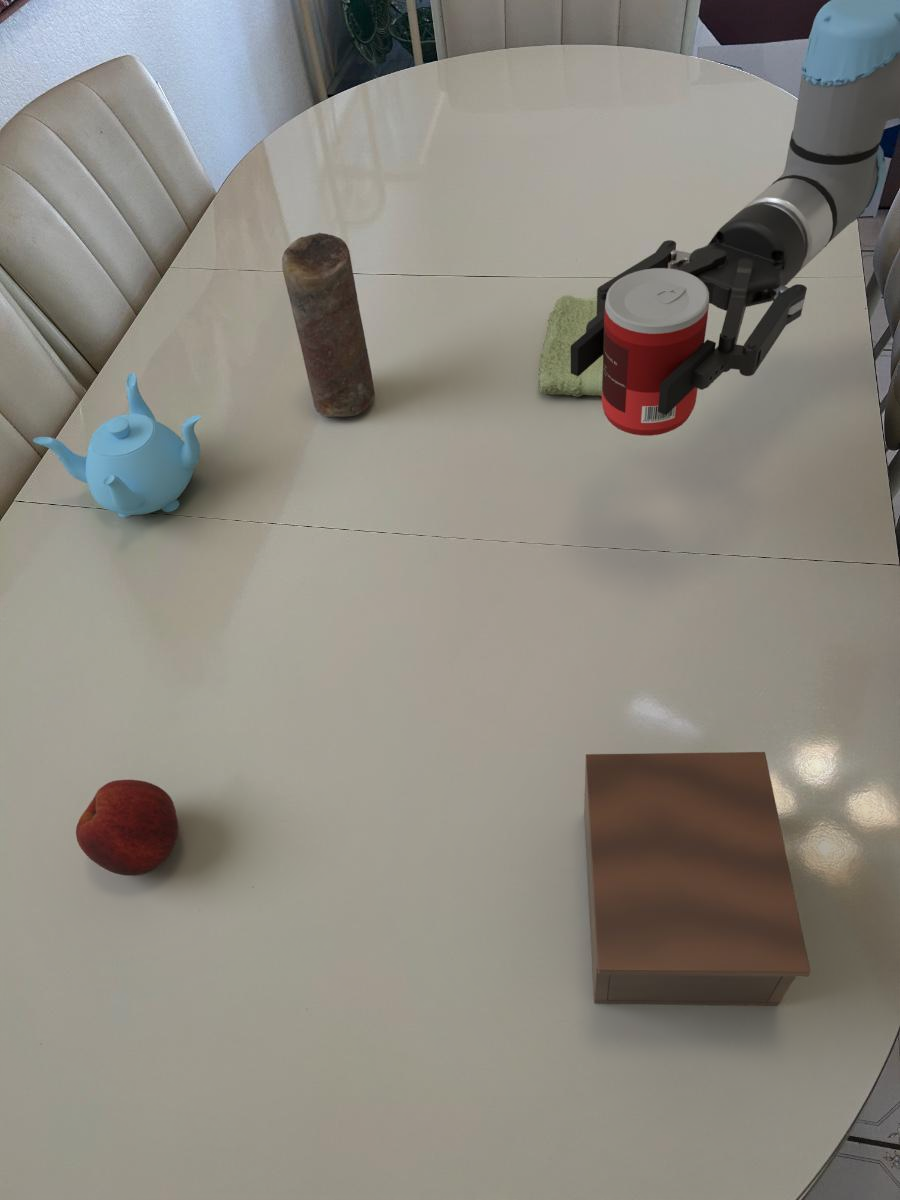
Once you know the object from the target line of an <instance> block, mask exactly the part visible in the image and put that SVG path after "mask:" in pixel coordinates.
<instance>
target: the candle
mask: <svg viewBox="0 0 900 1200" xmlns="http://www.w3.org/2000/svg"><path fill="white" fill-rule="evenodd" d="M281 267H282V268H281V269H282V274H283V277H284V282H285V286H286V289H287V291H286V292H287V294H288V298H289V302H290V307H291V312H292V316H293V320H294V323H295V324H294V325H295V329H296V332H297V333H296V334H297V336H298V340H299V345H300V348H301V353H302V357H303V362H304V367H305V371H306V377H307V381H308V384H309V388H310V393H311V397H312V398H311V399H312V402H313V406H314V408H315V411H316V412H317V413H318V414H320V415H321V416H323V417H327V418H333V417H354V416H358V415H359V414H361V413H362V412H364V411H365V410H367V409H368V407H369V405H370V404H371V403H372V402H373V400H374V398H375V395H376V391H375V386H374V380H373V379H374V378H373V374H372V368H371V362H370V357H369V353H368V347H367V342H366V341H367V340H366V336H365V331H364V330H365V329H364V325H363V320H362V315H361V311H360V310H361V309H360V304H359V299H358V292H357V288H356V280H355V276H354V270H353V265H352V259H351V253H350V249H349V247H348V245H347V243H346V241H344V240H343V239H342V238H341V237H338V236H336V235H332V234H328V233H324V232H318V233H317V232H316V233H314V234H308V235H306V236H301V237H298V238H297V239H295V240H294V241H292V242H290V244H289V245H288V247H286V249H285V250H284V251H283V254H282V257H281Z"/></svg>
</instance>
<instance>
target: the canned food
mask: <svg viewBox="0 0 900 1200" xmlns="http://www.w3.org/2000/svg"><path fill="white" fill-rule="evenodd" d="M709 309H710V303H709V292H708V289H707V287H706V285H705V284H704V283H703V282H702V281H701V280H700V279H699V278H697V277H695V276H694V275H692V274H689V273H687V272H684V271H680V270H675V269H667V268H653V269H646V270H641V271H637V272H634V273H631V274H628V275H626V276H624V277H622V278H620V279H619V280H618V281H616V282H615V283H614V284H613V285H612V286H611V287H610V289H609V290H608V293H607V296H606V302H605V316H604V343H603V377H602V396H601V405H602V409H603V413H604V415H605V417H606V419H607V420H608V422H609V423H610V424H611V425H612V426H613V427H615V428H616V429H617V430H620V431H621V432H624V433H626V434H630V435H635V436H643V437H644V436H646V437H647V436H650V437H652V436H659V435H663V434H666V433H670V432H673V431H675V430H676V429H678V428H680V427H682V426H683V425H684V424H685V423H686V422H687V421H688V419H689V417H690V416H691V415H692V412H694V411H693V410H694V409H695V406H696V402H697V397H698V388H696V387H695V388H694V389H693V390H692V391H691V392H690V393H689V394H688V395H687V396H686V397H685V398H683V399H682V400H681V401H680V402H679V403H678V404H677V405H676V406H675V407H674V408H673V409H672V410H671V411H670V412H669V413H668V414H667V415H664V414H662V413H660V412H658V405H659V394H660V384H661V383H662V382H663V381H664V380H665V379H666V378H667V377H668V376H669V375H670V374H671V373H672V372H674V371H675V370H676V369H677V368H678V367H679V366H680V365H681V364H682V363H683V362H684V361H685V360H686V359H687V358H688V357H689V356H690V355H692V354H693V353H694V352H695V351H696V350H697V349H698V348H699V347H700V346H701V345H702V344H703V343H704V342H705V341H706V340H705V338H706V332H707V325H708V319H709V318H708V315H709Z"/></svg>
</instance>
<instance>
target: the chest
mask: <svg viewBox="0 0 900 1200" xmlns="http://www.w3.org/2000/svg"><path fill="white" fill-rule="evenodd" d="M584 770H585V771H584V772H585V773H584V801H583V802H584V804H583V805H584V807H583V818H584V836H585V852H586V853H585V856H586V873H587V877H586V878H587V892H588V893H587V895H588V909H589V910H588V911H589V912H588V913H589V931H590V950H591V951H590V952H591V966H592V967H591V968H592V971H591V972H592V989H593V1003H594V1004H599V1005H600V1004H601V1005H602V1004H604V1005H605V1004H606V1005H609V1004H610V1005H614V1004H615V1005H677V1006H679V1005H681V1006H743V1007H744V1006H745V1007H747V1006H749V1007H750V1006H751V1007H753V1006H754V1007H778V1006H780V1004H781V1001H782V1000H783V998H784V996H785V995H786V993H787V992H788V990H789V989H790V987H791V985H792V984H793V982H794V981H795V979H796V976H704V975H612V974H598V962H597V944H596V927H595V910H594V893H593V876H592V859H591V842H590V825H589V808H588V791H587V774H586V765H585V768H584Z"/></svg>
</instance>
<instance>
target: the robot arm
mask: <svg viewBox="0 0 900 1200" xmlns="http://www.w3.org/2000/svg"><path fill="white" fill-rule="evenodd" d="M801 65H802V66H801V76H800V82H799V90H798V95H797V103H796V109H795V116H794V123H793V128H792V131H791V134H790V139H789V143H788V149H787V154H786V159H785V165H784V169H783V172H782V174H781V175H780V176H779V177H778V178H777V179H776V180H774V181H773V182H772V183H771V185H769V186H768V187H766V188H765V189H764V190H763V191H762V192H760V193H759V194H758V195H757V196H755V197H754V198H753V199H752V200H751V201H749V202H748V203H747V204H746V205H745V206H744V207H743V208H742V209H741V210H740V211H738V212H737V213H736V214H735V215H734V216H732V217H731V218H730V219H728V221H727V222H725V224H723V225H722V226H721V227H720V228H719V229H718V230H717V231H716V232H715V234H714V235H713V237H712V238H711V239H710V241H709V243H707V245H705V246H703V247H700V248H696V249H694V250H693V251H692V252H687V251H683V250H682V251H681V250H677V242H676V241H675V240H671V239H667V240H664V241H663V242H662V243H661V244H660V246H659V247H658V248H657V249H656V251H655V252H653V253H652V254H651V255H649V256H647V257H645V258H644V259H642V260H640V261H639V262H637V263H636V264H634V265H632V266H631V267H629V268H627V269H626V270H624V271H623V272H621V273H620V274H617V275H615V276H614V277H612V278H610V279H609V280H608V281H606V282H604V283H603V284H601V285H600V286H598V287H597V289H596V298H597V316H595V317H594V318H593V319H592V320H591V321H590V322H588V324H587V326H586V333H585V334H584V335H583V336H581V337H580V338H579V339H578V340H577V341H576V342H574V343H573V344H572V345H571V374H574V375H576V376H579V375H580V374H581V373H583V372H584V371H585V370H586V369H587V368H588V367H589V366H591V365H592V364H593V363H594V362H595V361H596V360H597V359H599V358H600V357H601V356H602V355H603V343H604V316H605V302H606V296H607V293H608V290H609V289H610V287H611V286H612V285H613V284H614V283H615V282H616V281H618V280H619V279H620V278H622V277H624V276H626V275H628V274H631V273H634V272H637V271H641V270H646V269H653V268H667V269H675V270H680V271H684V272H687V273H689V274H692V275H694V276H695V277H697V278H699V279H700V280H701V281H702V282H703V283H704V284H705V285H706V287H707V289H708V292H709V305H710V304H711V305H713V306H714V307H716V308H717V309H720V310H722V311H725V312H726V313H725V316H724V320H723V325H722V327H721V332H720V333H719V337H718V345H717V343H716V342H715V341H712V340H710V339H706V340H704V343H703V344H702V345H701V346H700V347H699V348H698V349H697V350H696V351H695V352H694V353H693V354H692V355H690V356H689V357H688V358H687V359H686V360H685V361H684V362H683V363H682V364H681V365H680V366H679V367H678V368H677V369H676V370H675V371H674V372H672V373H671V374H670V375H669V376H668V377H667V378H666V379H665V380H664V381H663V382H662V383H661V384H660V394H659V405H658V412H660V413H662V414H664V415H667V414H668V413H669V412H670V411H671V410H672V409H673V408H674V407H675V406H676V405H677V404H678V403H679V402H680V401H681V400H682V399H683V398H685V397H686V396H687V395H688V394H689V393H690V392H691V391H692V390H693V389H694V388H695V387H696V388H698V389H699V390H701V391H703V390H705V389H707V388H709V387H710V386H711V385H712V384H713V383H714V382H715V381H716V380H717V379H718V378H719V377H720V376H721V375H722V374H723V373H727V372H729V371H731V370H737V371H738V372H739V374H740V375H741V376H744V377H751V376H753V375H755V373H756V371H758V369H759V367H760V366H761V364H762V363H763V361H764V360H765V359H766V357H767V355H768V354H769V352H770V351H771V349H772V348H773V346H774V345H775V343H776V342H777V340H778V338H779V337H780V336H781V334H782V332H783V331H784V329H785V328H786V326H788V325H789V324H791V323H792V322H794V321H795V320H797V319H799V318H800V317H801V316H802V312H803V309H804V304H805V300H806V294H807V290H808V288H807V286H806V285H804V284H799V283H797V284H794V285H792V286H789V287H788V286H787V285H788V284H789V283H790V282H791V281H792V280H793V279H794V278H795V277H796V276H797V275H798V274H799V273H800V272H801V271H802V270H803V269H804V268H805V267H806V266H807V265H808V264H809V263H810V262H811V261H812V260H814V259H815V257H817V256H818V254H820V253H821V252H822V251H823V250H824V249H825V248H826V247H827V246H828V245H829V243H830V242H831V241H833V240H834V239H835V238H836V237H837V236H838V235H839V234H841V232H843V231H844V230H845V229H846V228H847V227H848V226H850V225H851V224H852V223H854V222H856V220H858V219H859V218H860V217H861V216H862V215H863V214H864V213H865V212H866V209H867V208H869V207H870V206H871V204H872V202H873V201H874V200H875V199H876V197H877V196H878V195H879V194H880V192H881V190H882V189H883V186H884V183H885V181H886V178H887V171H888V170H887V168H888V167H887V163H886V158H885V156H884V154H885V153H884V150H883V148H882V146H881V145H880V144H881V141H882V138H883V135H884V131H885V128H886V125H887V122H889V121H891V120H895V119H899V118H900V0H828V2H827V3H825V4H824V5H823V6H822V7H821V8H820V9H819V11H818V12H817V13H816V16H815V17H814V19H813V24H812V27H811V30H810V34H809V36H808V40H807V44H806V48H805V51H804V56H803V60H802V63H801ZM770 302H772V303H771V304H770V305H769V307H768V309H767V310H766V312H765V313H764V314H763V316H762V317H761V319H760V320H759V322H758V323H757V325H756V326H755V327H754V328H753V330H752V332H751V333H750V335H749V336H748V337H747V339H746V340H745V342H744V343H743V345H741V344H738V339H739V336H740V331H741V327H742V325H743V320H744V316H745V313H746V308H748V307H752V306H757V305H761V304H767V303H770ZM716 346H717V347H716ZM698 389H697V390H698Z"/></svg>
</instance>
